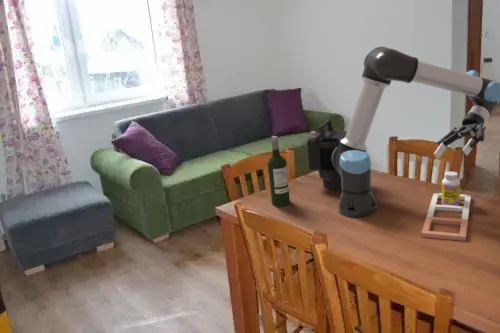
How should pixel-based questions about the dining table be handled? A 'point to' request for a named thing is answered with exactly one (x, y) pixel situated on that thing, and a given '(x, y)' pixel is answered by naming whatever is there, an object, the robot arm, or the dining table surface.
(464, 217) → the rack
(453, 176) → the supplement bottle
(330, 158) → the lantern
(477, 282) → the dining table surface
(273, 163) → the wine bottle
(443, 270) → the dining table surface
